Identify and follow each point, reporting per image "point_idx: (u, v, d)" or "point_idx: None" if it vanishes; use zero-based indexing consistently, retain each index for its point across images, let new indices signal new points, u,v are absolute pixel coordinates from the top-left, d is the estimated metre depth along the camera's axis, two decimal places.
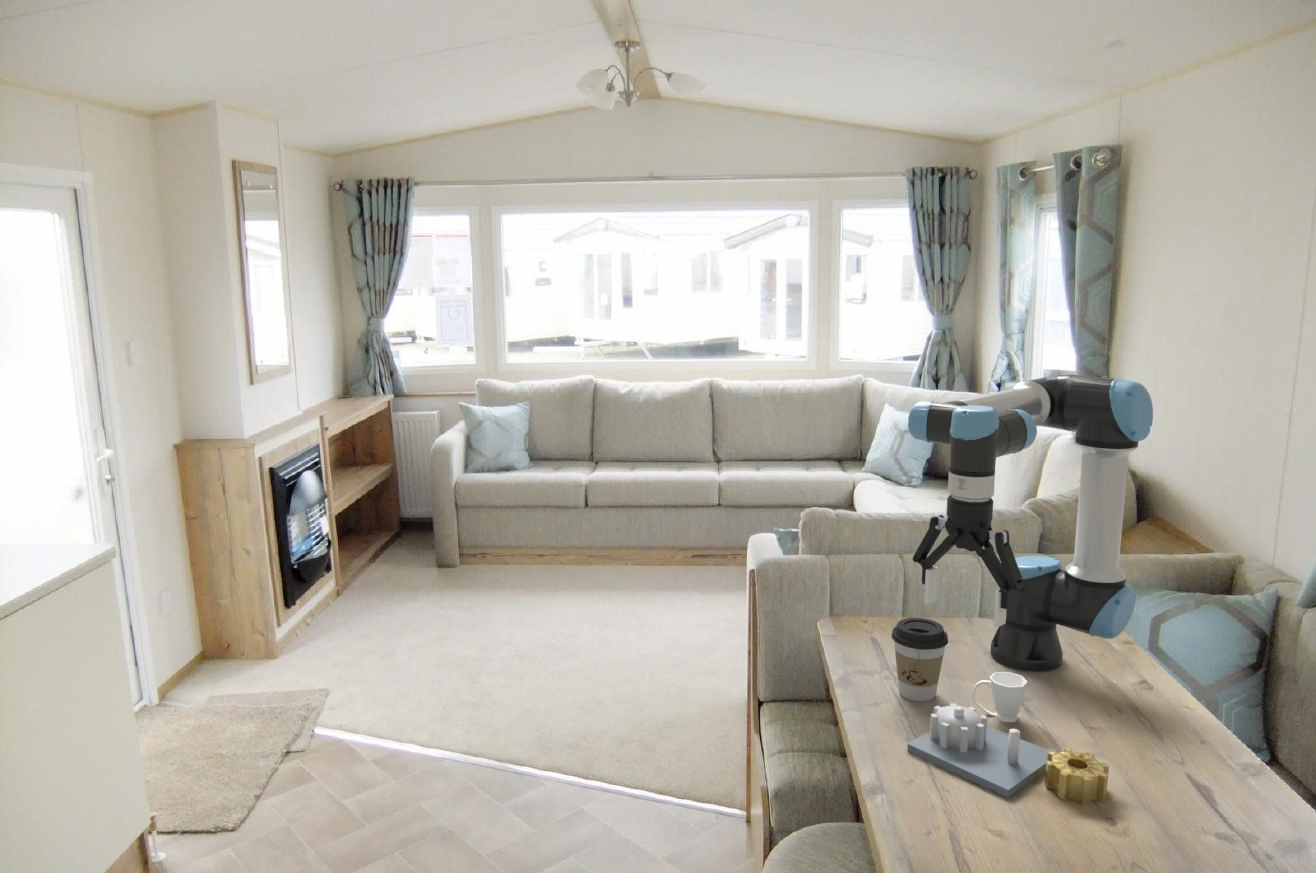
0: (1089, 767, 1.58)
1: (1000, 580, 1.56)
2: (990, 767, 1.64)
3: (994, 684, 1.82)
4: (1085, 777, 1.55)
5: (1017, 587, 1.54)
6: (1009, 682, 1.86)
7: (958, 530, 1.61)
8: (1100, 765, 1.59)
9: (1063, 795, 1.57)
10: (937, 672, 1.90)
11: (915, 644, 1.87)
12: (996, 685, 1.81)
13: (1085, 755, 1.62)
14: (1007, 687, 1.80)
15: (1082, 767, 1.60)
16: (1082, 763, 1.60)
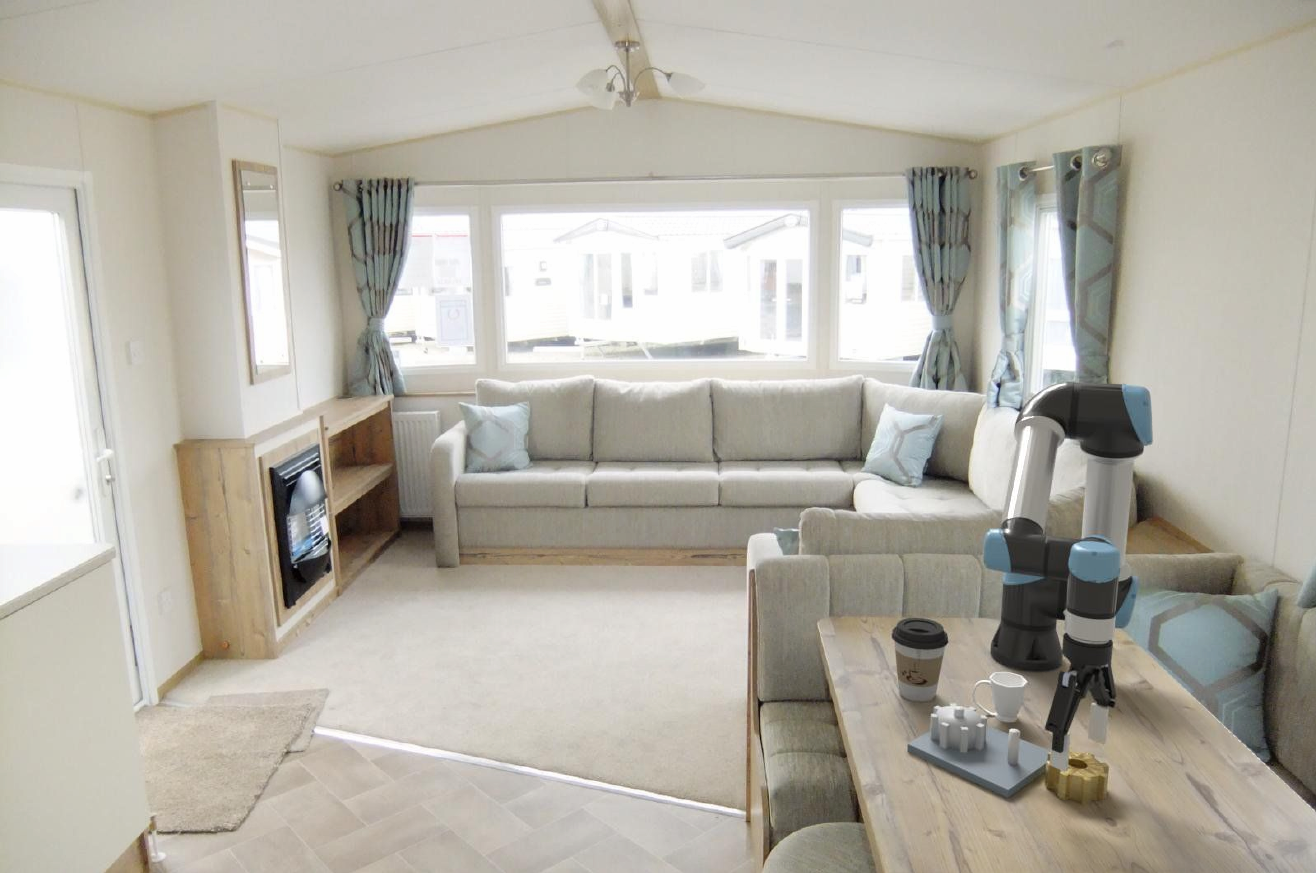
0: (1089, 767, 1.58)
1: None
2: (990, 767, 1.64)
3: (994, 684, 1.82)
4: (1085, 777, 1.55)
5: (1046, 727, 1.51)
6: (1009, 682, 1.86)
7: None
8: (1100, 765, 1.59)
9: (1063, 795, 1.57)
10: (937, 672, 1.90)
11: (915, 644, 1.87)
12: (996, 685, 1.81)
13: (1085, 755, 1.62)
14: (1007, 687, 1.80)
15: (1082, 767, 1.60)
16: (1082, 763, 1.60)
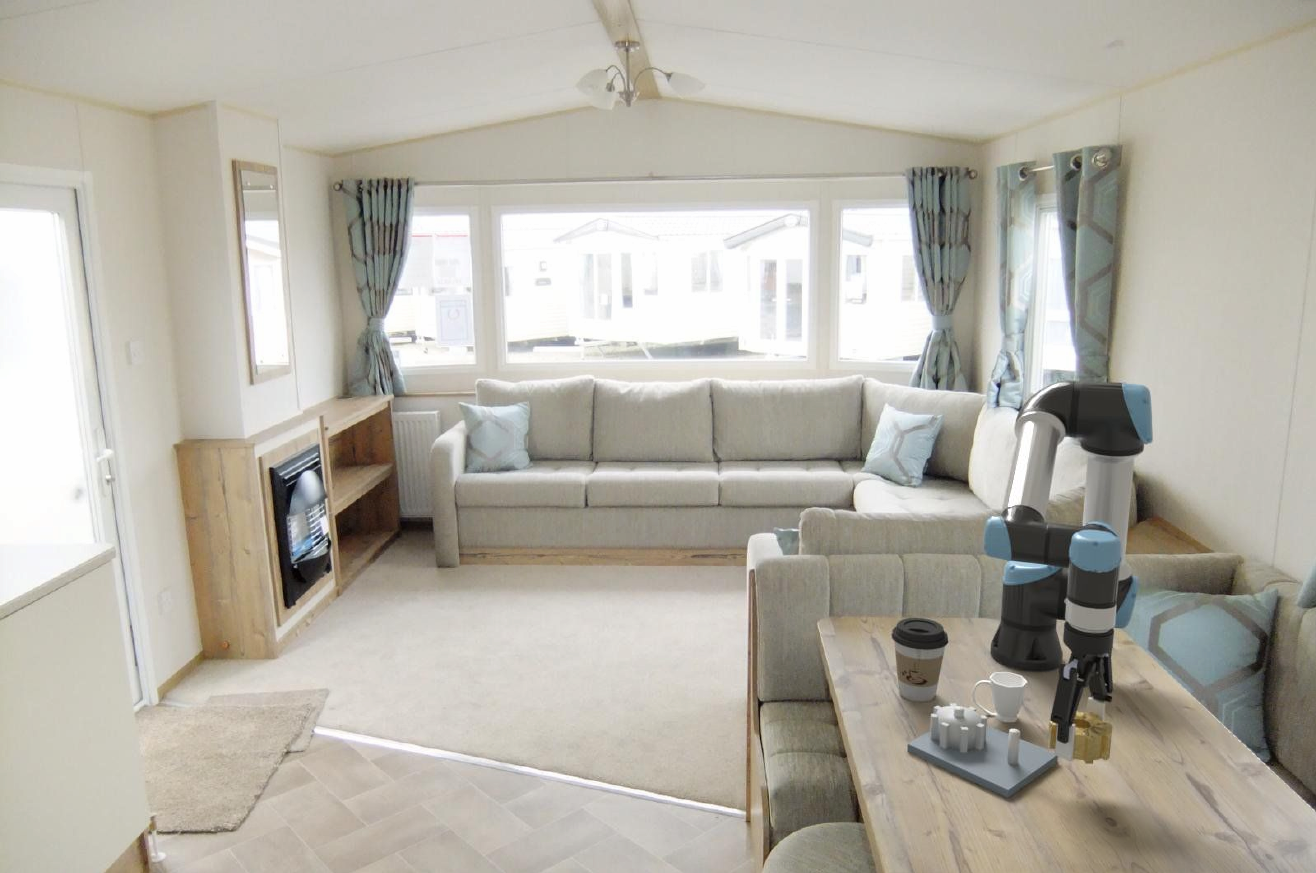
0: (1092, 726, 1.57)
1: None
2: (990, 767, 1.64)
3: (994, 684, 1.82)
4: (1088, 736, 1.54)
5: (1051, 720, 1.53)
6: (1009, 682, 1.86)
7: None
8: (1103, 724, 1.58)
9: None
10: (937, 672, 1.90)
11: (915, 644, 1.87)
12: (996, 685, 1.81)
13: (1088, 715, 1.61)
14: (1007, 687, 1.80)
15: (1085, 727, 1.59)
16: (1085, 723, 1.59)
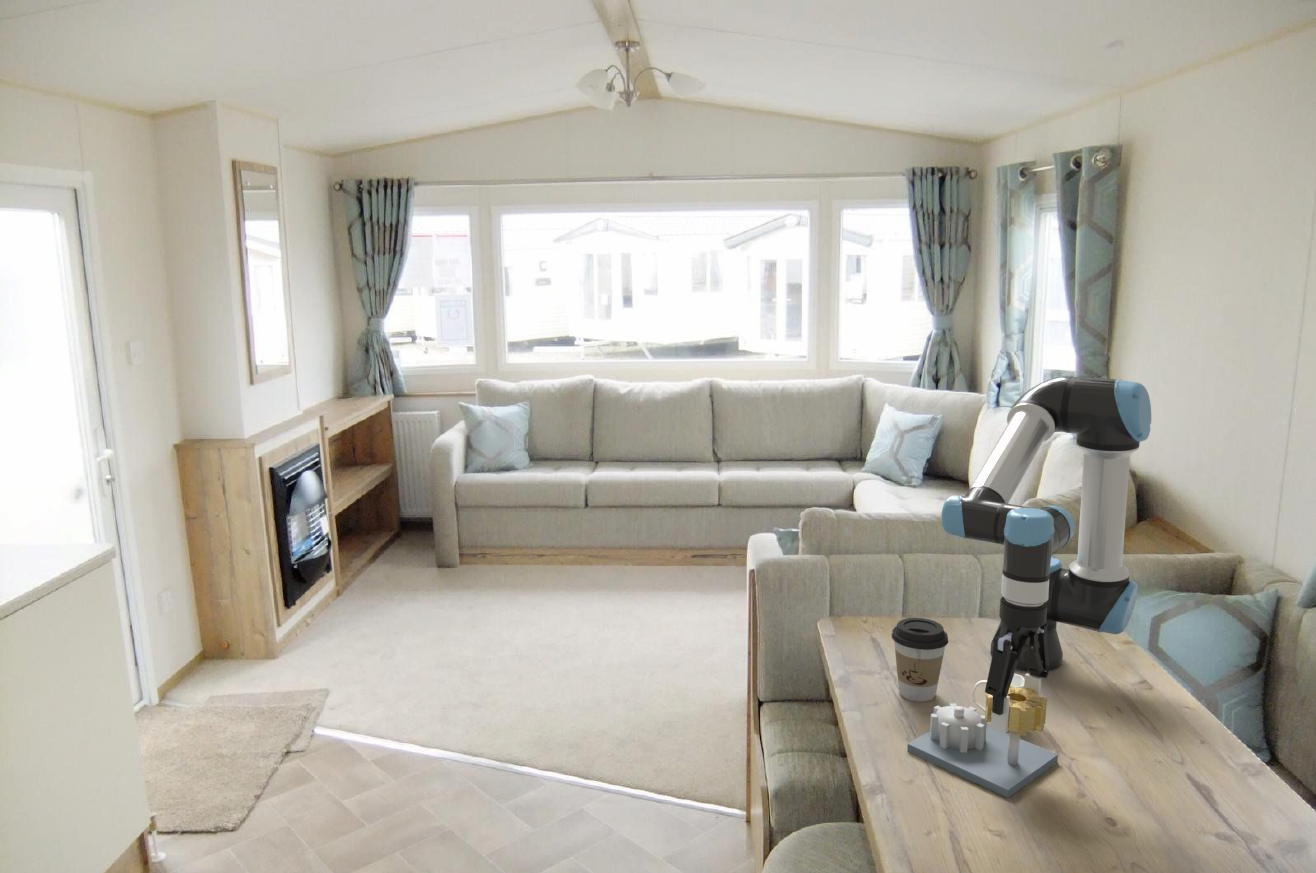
0: (1027, 700, 1.62)
1: None
2: (990, 767, 1.64)
3: None
4: (1022, 708, 1.59)
5: (986, 691, 1.57)
6: None
7: None
8: (1038, 698, 1.62)
9: None
10: (937, 672, 1.90)
11: (915, 644, 1.87)
12: None
13: (1025, 690, 1.65)
14: None
15: (1021, 701, 1.64)
16: (1021, 697, 1.64)
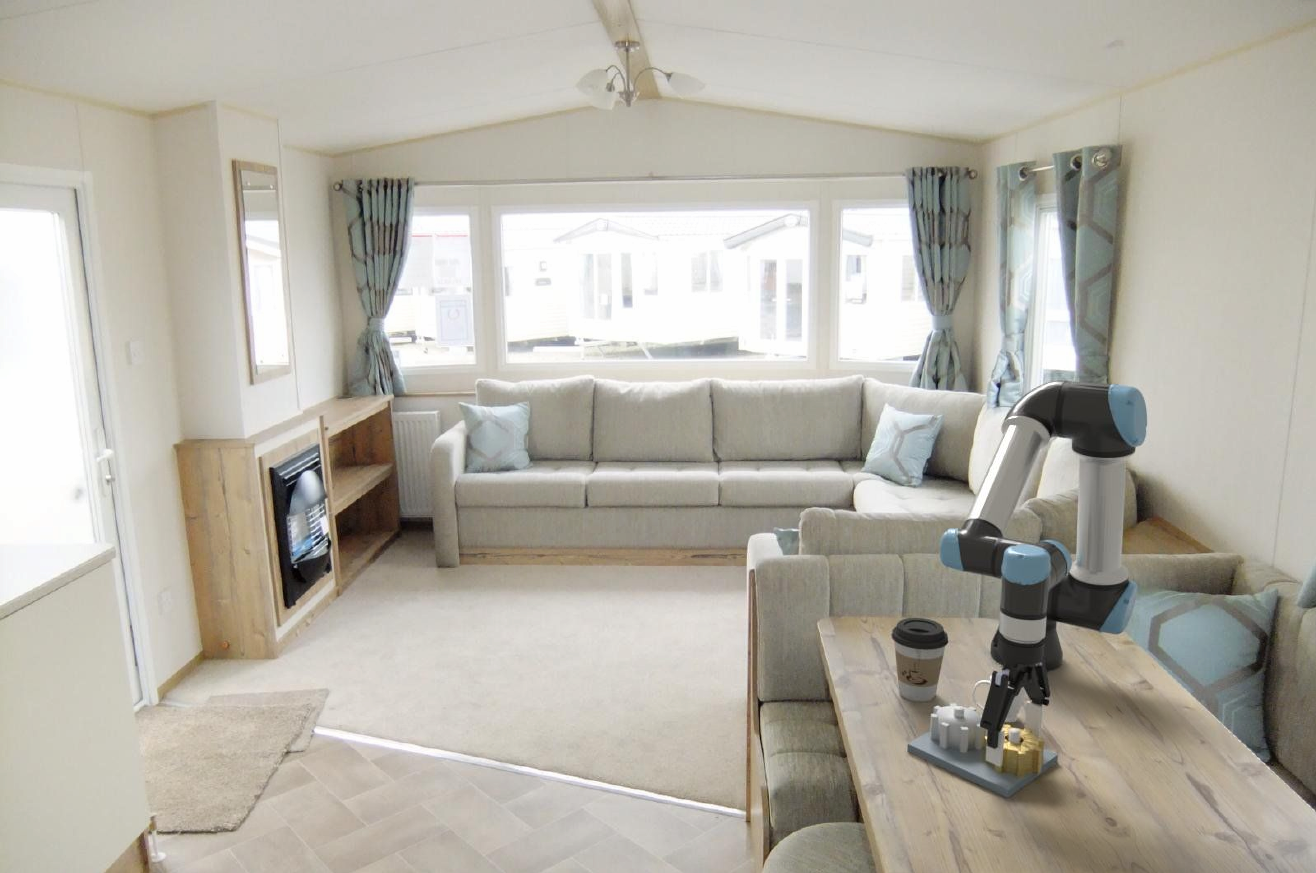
0: (1025, 742, 1.63)
1: None
2: (990, 767, 1.64)
3: None
4: (1020, 751, 1.60)
5: (981, 725, 1.58)
6: None
7: None
8: (1036, 740, 1.64)
9: (999, 769, 1.62)
10: (937, 672, 1.90)
11: (915, 644, 1.87)
12: None
13: (1023, 731, 1.67)
14: None
15: (1019, 742, 1.66)
16: None
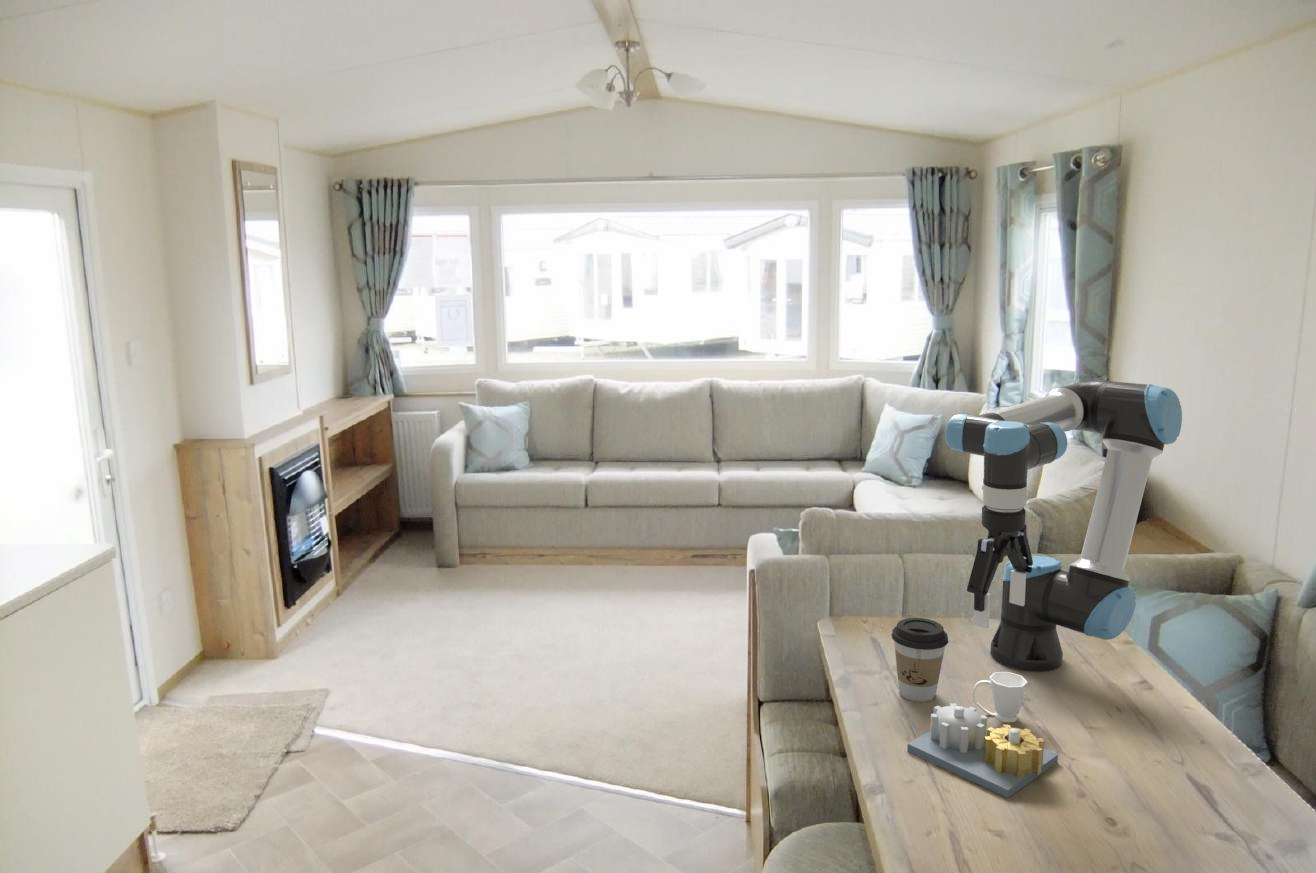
0: (1025, 742, 1.63)
1: None
2: (990, 767, 1.64)
3: (994, 684, 1.82)
4: (1020, 751, 1.60)
5: (968, 589, 1.68)
6: (1009, 682, 1.86)
7: None
8: (1036, 740, 1.64)
9: (999, 769, 1.62)
10: (937, 672, 1.90)
11: (915, 644, 1.87)
12: (996, 685, 1.81)
13: (1023, 731, 1.67)
14: (1007, 687, 1.80)
15: (1019, 742, 1.66)
16: None
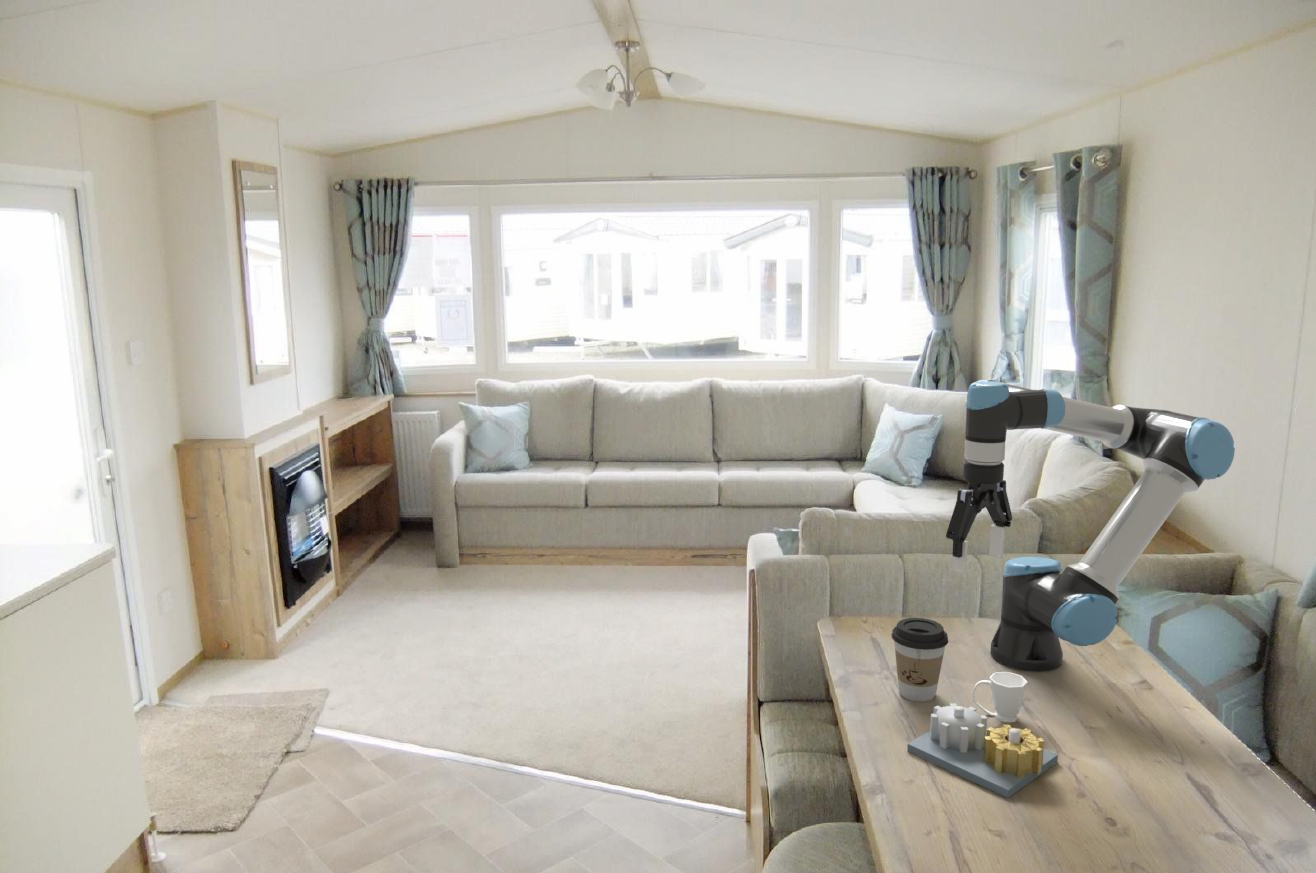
0: (1025, 742, 1.63)
1: None
2: (990, 767, 1.64)
3: (994, 684, 1.82)
4: (1020, 751, 1.60)
5: (947, 535, 1.80)
6: (1009, 682, 1.86)
7: None
8: (1036, 740, 1.64)
9: (999, 769, 1.62)
10: (937, 672, 1.90)
11: (915, 644, 1.87)
12: (996, 685, 1.81)
13: (1023, 731, 1.67)
14: (1007, 687, 1.80)
15: (1019, 742, 1.66)
16: None
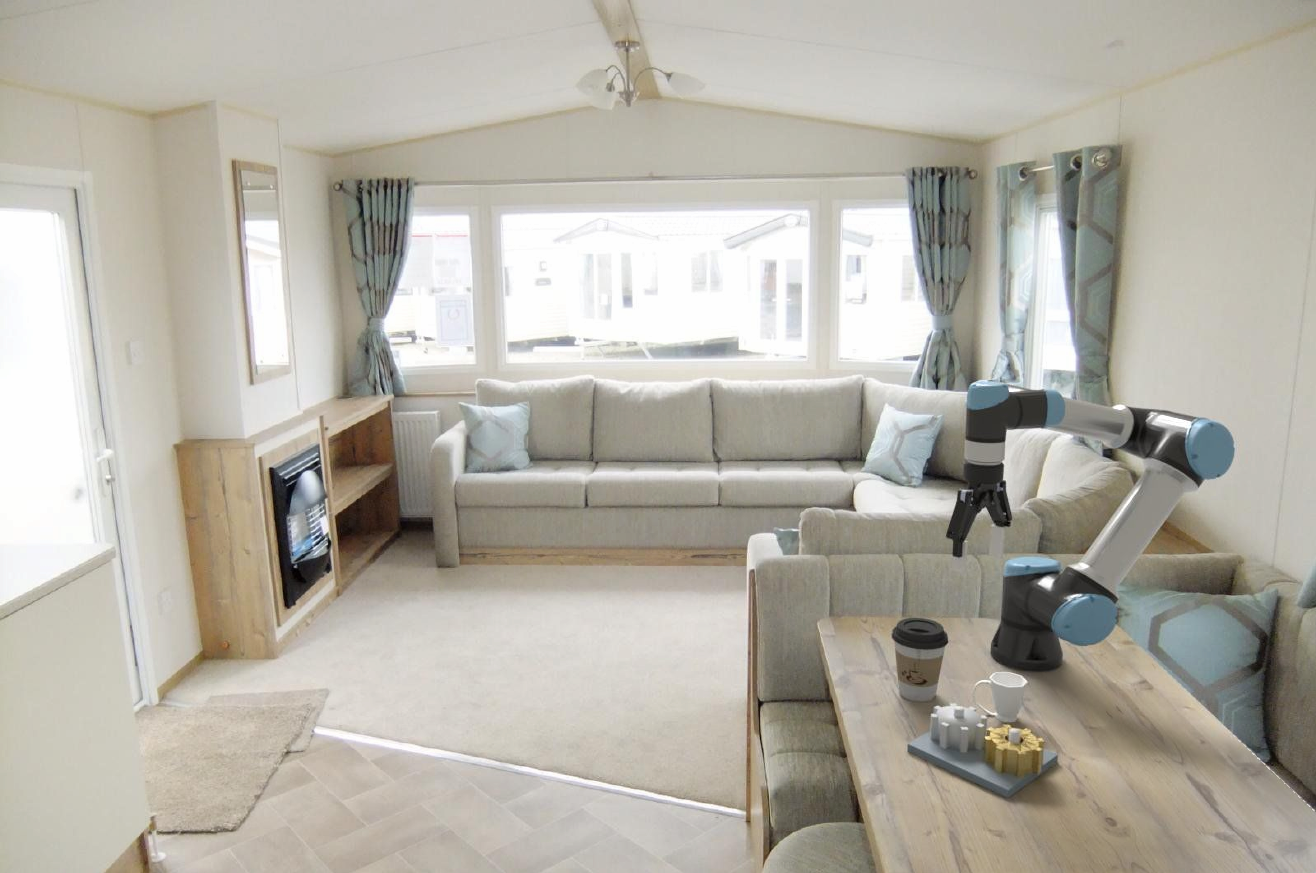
0: (1025, 742, 1.63)
1: None
2: (990, 767, 1.64)
3: (994, 684, 1.82)
4: (1020, 751, 1.60)
5: (947, 535, 1.80)
6: (1009, 682, 1.86)
7: None
8: (1036, 740, 1.64)
9: (999, 769, 1.62)
10: (937, 672, 1.90)
11: (915, 644, 1.87)
12: (996, 685, 1.81)
13: (1023, 731, 1.67)
14: (1007, 687, 1.80)
15: (1019, 742, 1.66)
16: None
